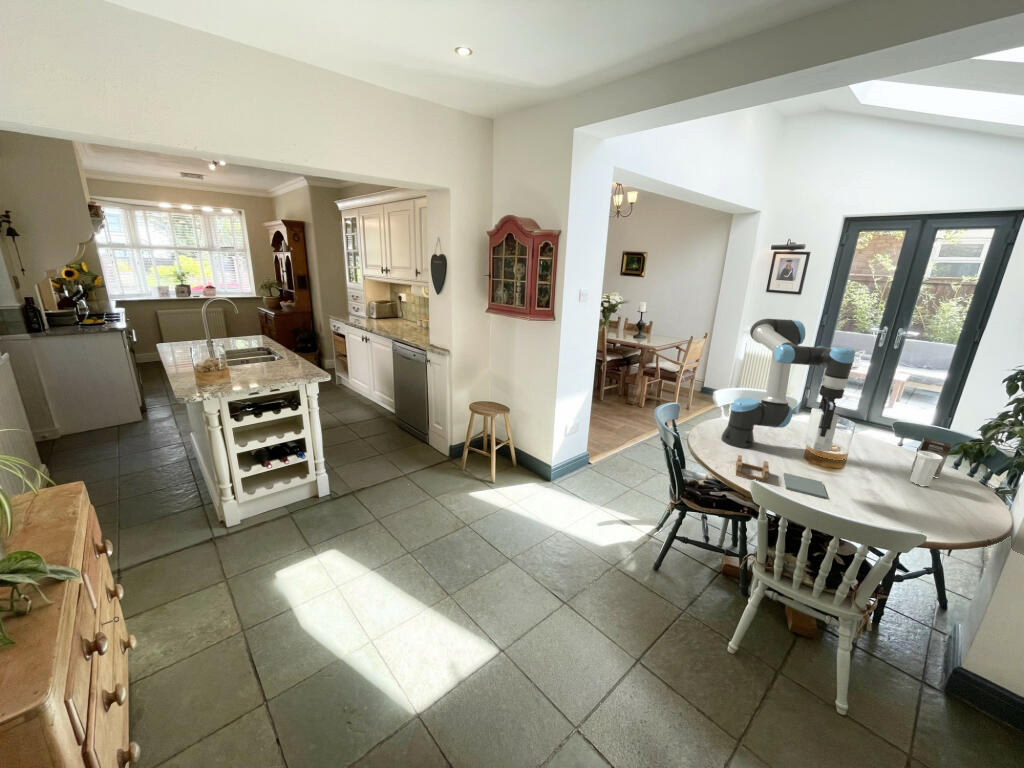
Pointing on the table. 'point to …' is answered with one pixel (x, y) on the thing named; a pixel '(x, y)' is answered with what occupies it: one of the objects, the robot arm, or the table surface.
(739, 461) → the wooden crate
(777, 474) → the table surface
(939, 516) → the table surface
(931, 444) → the coffee box
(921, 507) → the table surface
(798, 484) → the plate
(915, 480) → the cup
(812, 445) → the skincare box
